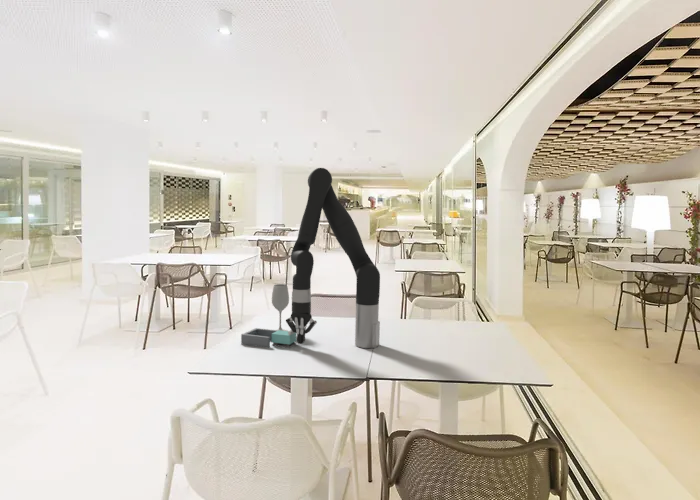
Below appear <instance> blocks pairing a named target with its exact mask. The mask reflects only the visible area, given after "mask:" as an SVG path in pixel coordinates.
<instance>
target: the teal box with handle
mask: <svg viewBox="0 0 700 500" xmlns="http://www.w3.org/2000/svg"><path fill="white" fill-rule="evenodd" d="M277 330H278V329H277ZM296 342H297V333H295V332H293V331H292V330H291V329H290V330H288V331H281V330H278V331H276V332H274V333H272V340H271V343H272V347H280V348H288V349H289V348H292V347H293V346H295V345H297V343H296Z"/></svg>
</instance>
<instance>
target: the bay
mask: <svg viewBox="0 0 700 500" xmlns="http://www.w3.org/2000/svg"><path fill="white" fill-rule="evenodd" d="M276 331H278V329H268V328H261V327H260V328H258V327H256V328H253V329H251V330H248V331H246V332H244V333H242V334H241V335H240V337H241V338H240V339H241V340H240V343H241V345H244V346H253V347H261V348H271V347H270V346H271V345H270V344H271V341H272V333H274V332H276Z"/></svg>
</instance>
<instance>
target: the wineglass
mask: <svg viewBox="0 0 700 500" xmlns="http://www.w3.org/2000/svg"><path fill="white" fill-rule="evenodd" d="M289 303H290V294H289V288H288V284H285V283H284V284H283V283H282V284H280V283H279V284H278V283H277V284H276V283H275V284H273V288H272V293H271V304H272V306H273V308H274V309H276V310H277V311H278V314H279V325H278V326H279V327H278V329H277V330H281V331H289V330H287V329H283V328H282V312H283V311H284V310H285V309H286V308H287V307H288V305H289Z"/></svg>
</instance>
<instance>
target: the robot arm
mask: <svg viewBox="0 0 700 500" xmlns="http://www.w3.org/2000/svg"><path fill="white" fill-rule="evenodd" d="M332 177H333V175H332V174H331V172H330V171H329V170H328V169H326V168H324V167H316V168H314V169H313V170H312V171H311V172H310V174H309V175H308V177H307V186H308V188H309V189H308V197H307V202H306V205H305V208H304V212H303V215H302V219H301V221H300V225H299V228H298V229H299V231H298V233H297V234H298V235H297V239H296V240H295V243H294V245H293V248H292V250H291V252H290V261H291V263H292V265H294V266H295V267H296V268H295V269H296V270H295V271H296V272H295V274H294V275H293V276H292V291H291V314H290V317H288V318H286V319H285V322H286V324H287V325H288V327H289V328H290V330H292V331H293V332H295V333H296V342H297V343H298V344H301V345H303V344H304V343H305V342H306V334H308V333H310V332H311V331H312V329H313V328H314V327H315V325H316V324H317V323H318V322H317V320H314V319H313V317H312V313H311V312H312V292H311V286H312V285H311V283H312V282H311V277H312V274H313V269H314V261H315V260H314V255H313V254H312V252H311V251H310V249H311V246H312V245H314V244H315V242H316V239H317V234H318V230H319V225H320V221H321V216H322V215H321V214H322V211H323V213H324V216H325V218H326V221H327V222H328V225H329V227H330V229H331V231H332V233H333V235H334V237H335V239H336V240H337V243H338V244H339V245H340V247H341V249H342V250H343V252H345V254H346V255H347V257H348V258H349V261H350V263H351V265H352V268H353V270H354V273H355V278H356V284H355V285H356V289H355V290H356V293H355V325H354V326H355V329H354V330H355V334H354V335H355V337H354V338H355V339H354V342H355V343H354V345H355V347H358V348H362V349H376V348H378V346H379V345H380V330H381V327H380V326H381V325H380V324H381V323H380V321H379V315H380V314H379V313H380V312H379V308H380V307H379V303H380V296H381V295H380V294H381V293H380V292H381V291H380V290H381V288H380V287H381V274H380V271H379V269H378V267H377V266H376V265H375V264H374V262H373V260H372V259H371V258H370V256H369V254H368V253H367V251H366V249H365V247H364V244H363V241H362V237H361V235H360V232H359V231H358V228H357V226H356V224H355V222H354V220H353V219H352V217H351V215H350V213H349V211H348V210H347V209H346V208H345V207H344V205H343V204H342V203H341V201H340V200H339V199H338V196H337V195H336V192H335V190H334V188H333V185H332V183H333V178H332ZM308 324H309V325H308ZM307 325H308V326H307Z"/></svg>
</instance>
